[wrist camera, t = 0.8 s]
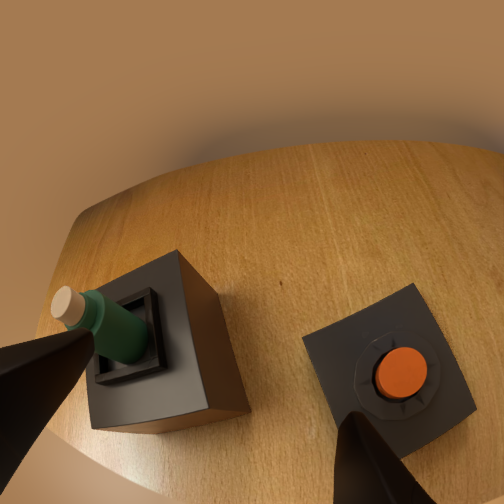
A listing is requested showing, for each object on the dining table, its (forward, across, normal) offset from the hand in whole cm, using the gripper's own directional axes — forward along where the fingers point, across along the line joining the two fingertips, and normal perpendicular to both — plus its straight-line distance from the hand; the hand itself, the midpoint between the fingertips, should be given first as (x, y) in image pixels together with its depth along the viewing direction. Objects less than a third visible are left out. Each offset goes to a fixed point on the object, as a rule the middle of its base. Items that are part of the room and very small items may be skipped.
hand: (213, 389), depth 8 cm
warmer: (+13, +4, +12) cm, 18 cm away
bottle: (+8, +7, +6) cm, 12 cm away
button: (+7, -11, +3) cm, 14 cm away
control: (+10, -12, +6) cm, 17 cm away
